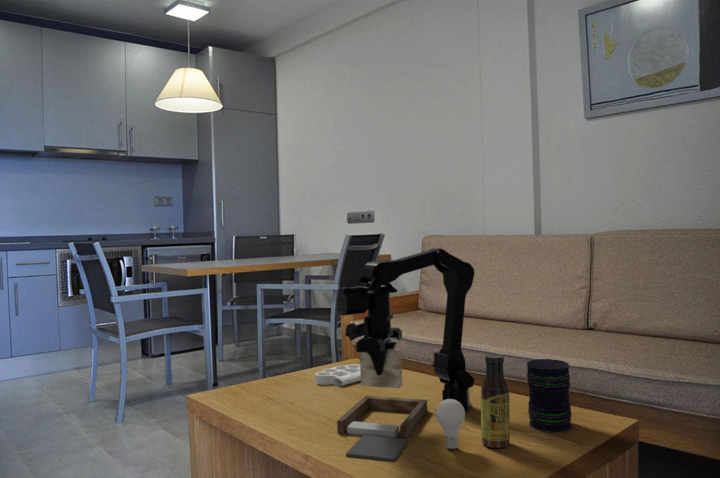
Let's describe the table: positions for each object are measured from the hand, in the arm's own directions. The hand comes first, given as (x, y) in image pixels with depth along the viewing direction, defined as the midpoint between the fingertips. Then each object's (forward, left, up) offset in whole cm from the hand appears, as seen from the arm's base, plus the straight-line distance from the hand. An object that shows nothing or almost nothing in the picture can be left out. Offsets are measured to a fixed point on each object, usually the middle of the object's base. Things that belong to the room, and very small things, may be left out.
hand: (381, 373), depth 140 cm
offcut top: (+1, +6, -13) cm, 14 cm away
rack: (0, -2, -13) cm, 13 cm away
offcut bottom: (0, +6, -14) cm, 15 cm away
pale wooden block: (0, 0, -3) cm, 3 cm away
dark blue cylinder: (-40, -9, -13) cm, 43 cm away
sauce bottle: (-29, +6, -13) cm, 32 cm away
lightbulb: (-20, +11, -13) cm, 26 cm away
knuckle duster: (+27, -37, -14) cm, 48 cm away
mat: (-4, +15, -13) cm, 20 cm away
